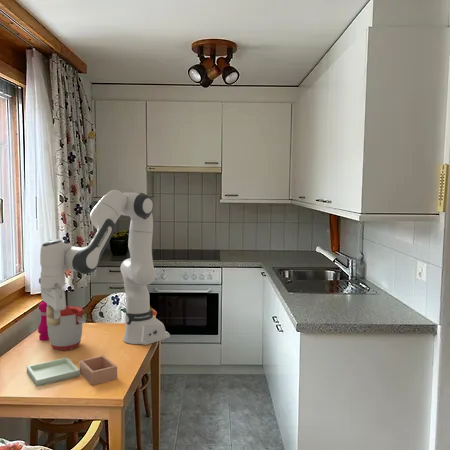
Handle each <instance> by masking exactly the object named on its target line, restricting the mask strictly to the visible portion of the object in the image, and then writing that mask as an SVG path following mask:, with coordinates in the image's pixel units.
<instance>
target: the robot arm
mask: <svg viewBox="0 0 450 450" xmlns="http://www.w3.org/2000/svg"><path fill="white" fill-rule="evenodd" d="M153 210H154V202H153V199H152V197H151V196H150V195H148V194H145V193H139V192H134V191H133V192H132V191H131V192H124V191H123V192H122V191H120V190H119V189H112V190H110V191H108V192H107V193H105V195H103V196H102V197H101V198H100V199H99V201H98V202H97V203H96V204H95V205H94V207H93V208H92V209H91V212H90V214H89V219H90V223H91V224H92V225H93V228H95V229H96V230H97V231H96V233H95V235H94V236H93V237H92V240H91V241H90V243H89V244H88V245H86V246H84V247H80V246H74V245H70V244H68V243H65V242H64V241H63V240H62V239H58V238H57V239H48V240H46V241H44V242H43V243H42V245H41V247H40V254H39V255H40V257H39V263H40V264H39V265H40V267H41V271H40V277H39V278H38V284H39V285H40V295H41V300H42V302H43V301H44V302H46V303H47V306H51V307H52V308H53V309H54V314H53V318H54V319H58V318H59V313H60V310H65V308H66V305H67V303H66V302H67V301H66V292H65V290H64V289H63V288H62V287H64V286H66V272H65V271H67V270H68V271H72V272H76V273H80V274H83V275H89V274H92V273H93V272H94V271H96V269H97V268H98V266H99V264H100V260H101V257H102V255H103V254H104V251H105V250H106V248H107V245H108V244H109V242H110V240H111V238H112V236H113V235H114V232H115V230H116V223H117V221H118V219H120V217H121V216H126V217H129V218H130V224H129V230H128V241H127V244H128V245H127V247H128V251H129V258H126V259H124V260H123V261H122V263H121V264H120V273H121V275H122V279H123V286H124V291H125V299H126V301H125V302H126V305H125V306H126V307H125V308H126V309H125V332H124V335H123V341H124V343H127V344H130V345H132V344H133V345H142V346H143V345H146V346H147V345H150V344H154V343H156V342H159V341H160V342H161V341H163V340H166V339H169V338H171V334H170V333H169V332H168V331H166V327H165V325H164V323H163V322H162V321H160V320H159V319H158V318H156V317H154V316H157V314H158V311H156V310H153V309H151V308H150V305H151V304H150V292H149V290H148V286H147V285H150V284H152V283H154V281H155V280H156V277H157V272H156V269H155V268H154V267H155V266H154V261H153V260H154V259H153V250H152V249H153V248H152V247H153V233H154V219H153V218H154V217H153Z"/></svg>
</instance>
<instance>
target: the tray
mask: <svg viewBox="0 0 450 450" xmlns="http://www.w3.org/2000/svg"><path fill="white" fill-rule="evenodd" d="M26 373H27V375H28V376H29V378H30V379H31V380H32V382H33V383H34V384H35V386H36V387H41V386H45V385H49V384H53V383H57V382H60V381H64V380H65V381H66V380H69V379H72V378H73V379H74V378H77V377H80V375H81V374H80V368H78V367H77V366H76V365H75V364H74V363H73V362H72V361H71V359H69V358H68V357H63V358H59V359H53V360H48V361H43V362H40V363H35V364H31V365H26Z"/></svg>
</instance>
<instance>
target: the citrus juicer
mask: <svg viewBox="0 0 450 450" xmlns="http://www.w3.org/2000/svg"><path fill="white" fill-rule="evenodd" d="M83 310H84V309H83V308H82V307H80V306H71V305H69V306H68V305H67V304H66V308H65V310H60V325H57V326H48V336H49V340H48V341H49V342H50V346H51V347H52V349H54V350H56V351H70V350H73V349H75V348H77V347H78V346H79V345H80V343H81V340H82V339H81V338H82V337H83V336H82V335H83V325H84V324H86V321H87V320H86V318H85V317H84V315H83V313H84V312H83Z"/></svg>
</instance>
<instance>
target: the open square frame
mask: <svg viewBox="0 0 450 450" xmlns="http://www.w3.org/2000/svg"><path fill="white" fill-rule="evenodd" d="M78 363H79V370H80V375H81V376H82V377H83V378H84V379H85V380H86V381H87V382H88V383H89V384H90V386H95V385H96V386H97V385H100V384H103V383H107V382H111V381H115V380H117V379H118V366H117V365H116V363H114V362H113V361H111V360H110V359H109V358H108V357H107V356H105V355H98V356H93V357H90V358H86V359H85V358H84V359H81V360H79V362H78Z"/></svg>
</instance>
